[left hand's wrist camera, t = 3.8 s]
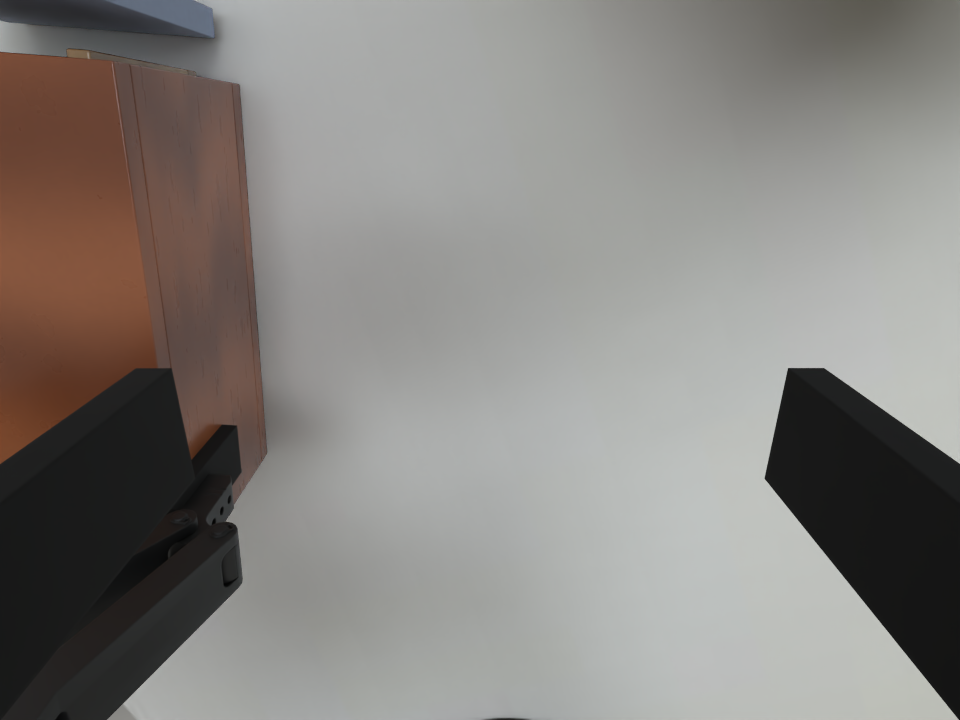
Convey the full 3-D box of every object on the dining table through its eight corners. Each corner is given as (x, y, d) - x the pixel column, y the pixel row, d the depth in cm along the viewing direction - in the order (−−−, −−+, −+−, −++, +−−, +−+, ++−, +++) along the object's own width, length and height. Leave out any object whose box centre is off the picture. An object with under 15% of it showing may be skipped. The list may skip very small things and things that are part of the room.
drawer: (-28, -155, 24) (-279, -295, 16) (200, -135, 24) (64, -264, 16) (81, 387, 33) (-46, 470, 25) (246, 397, 34) (173, 482, 26)
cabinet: (19, 67, 28) (-229, 34, 18) (239, 84, 28) (113, 60, 19) (94, 443, 36) (-53, 564, 26) (267, 453, 36) (187, 576, 26)
